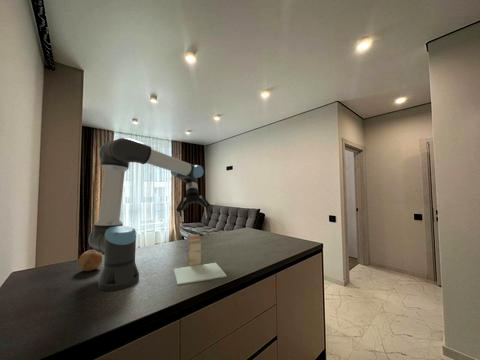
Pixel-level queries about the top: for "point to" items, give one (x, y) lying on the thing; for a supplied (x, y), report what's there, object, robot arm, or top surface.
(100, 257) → the onion
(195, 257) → the wood block
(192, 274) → the rubber mat
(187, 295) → the top surface
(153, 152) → the robot arm
